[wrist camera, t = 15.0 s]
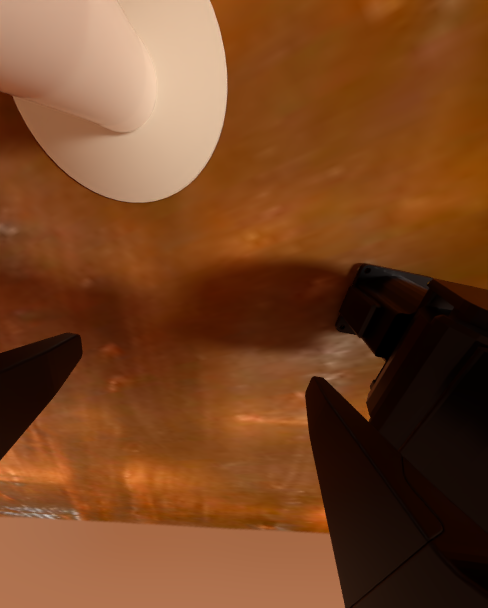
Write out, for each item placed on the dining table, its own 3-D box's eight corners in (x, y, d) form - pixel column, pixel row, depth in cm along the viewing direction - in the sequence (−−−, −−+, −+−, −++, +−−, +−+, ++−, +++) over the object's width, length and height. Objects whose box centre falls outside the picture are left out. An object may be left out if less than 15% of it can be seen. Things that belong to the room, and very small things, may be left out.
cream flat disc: (247, -55, 12) (247, -61, 12) (211, 219, 18) (210, 220, 18) (-31, -137, 11) (-38, -145, 11) (26, 180, 17) (23, 180, 17)
